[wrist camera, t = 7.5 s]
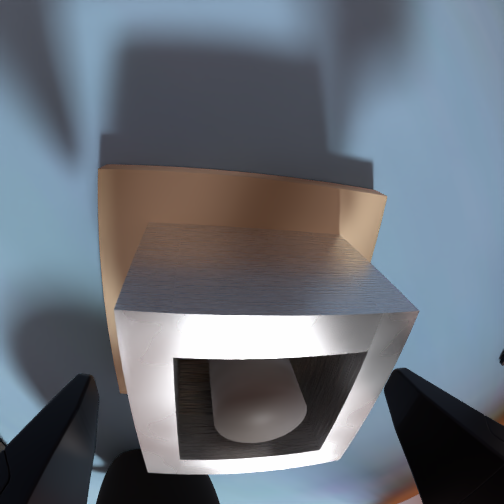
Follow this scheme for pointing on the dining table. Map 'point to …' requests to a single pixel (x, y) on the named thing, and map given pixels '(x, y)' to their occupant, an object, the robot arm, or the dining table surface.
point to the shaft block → (233, 215)
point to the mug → (152, 484)
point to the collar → (253, 339)
